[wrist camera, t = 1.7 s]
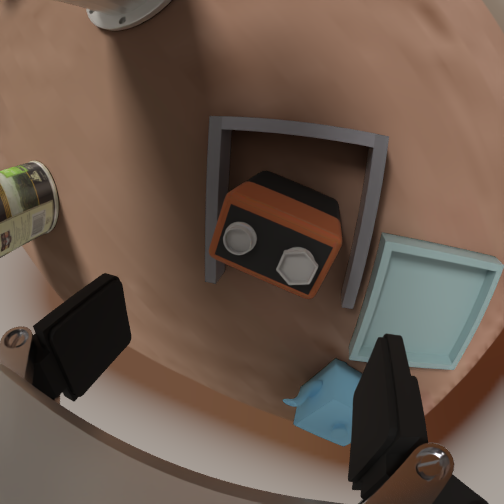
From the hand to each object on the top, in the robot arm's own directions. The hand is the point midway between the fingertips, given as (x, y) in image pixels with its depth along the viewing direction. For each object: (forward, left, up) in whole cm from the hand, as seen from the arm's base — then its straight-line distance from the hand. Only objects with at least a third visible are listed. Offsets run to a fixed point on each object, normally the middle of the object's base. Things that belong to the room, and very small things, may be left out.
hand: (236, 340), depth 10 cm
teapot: (+18, +7, -17) cm, 25 cm away
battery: (0, 0, -17) cm, 17 cm away
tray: (+7, +14, -16) cm, 22 cm away
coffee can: (+2, -33, -17) cm, 37 cm away
